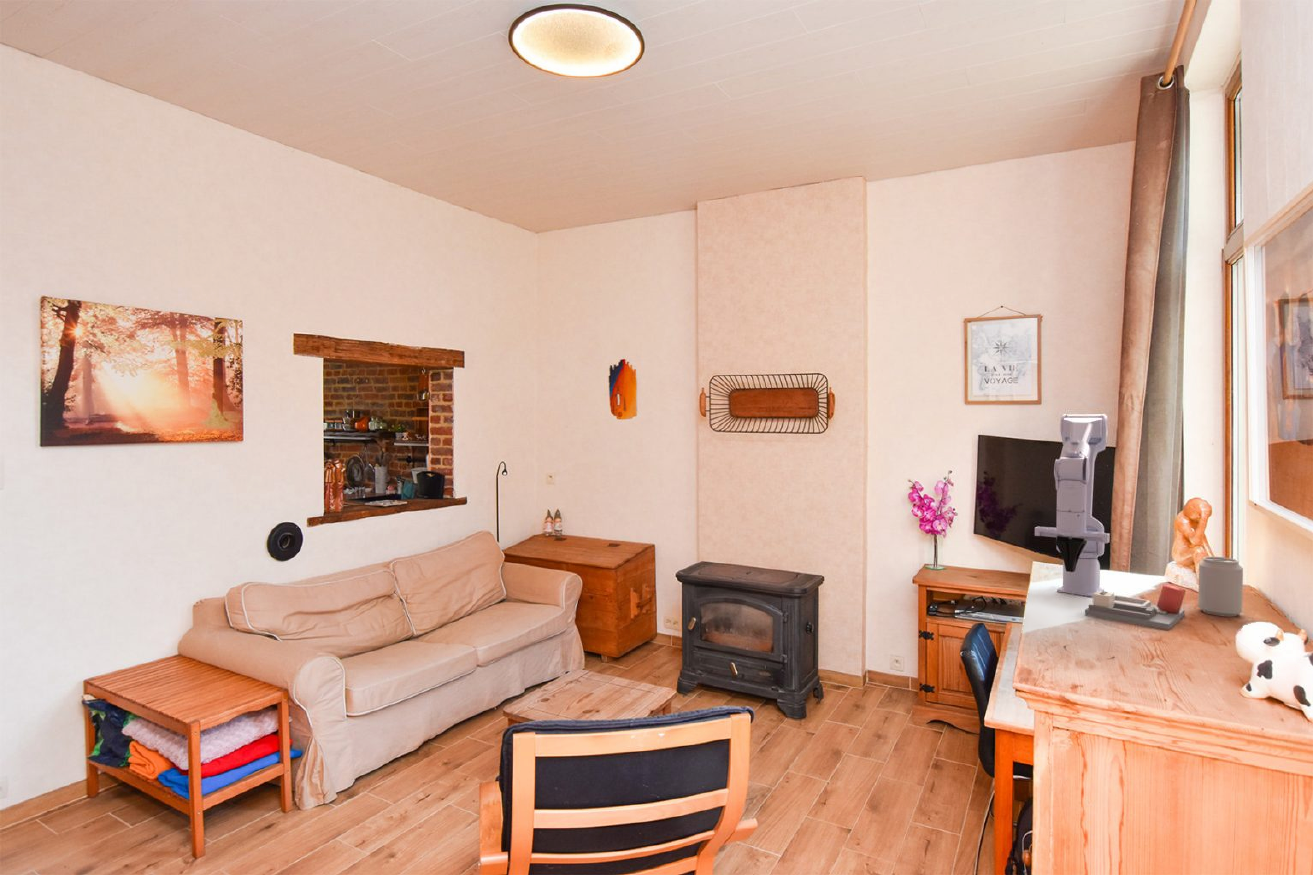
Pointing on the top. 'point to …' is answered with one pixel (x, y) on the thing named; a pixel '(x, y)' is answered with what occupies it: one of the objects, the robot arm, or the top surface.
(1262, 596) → the top surface
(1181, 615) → the panel
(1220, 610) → the can
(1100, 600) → the breaker
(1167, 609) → the red rounded cube
